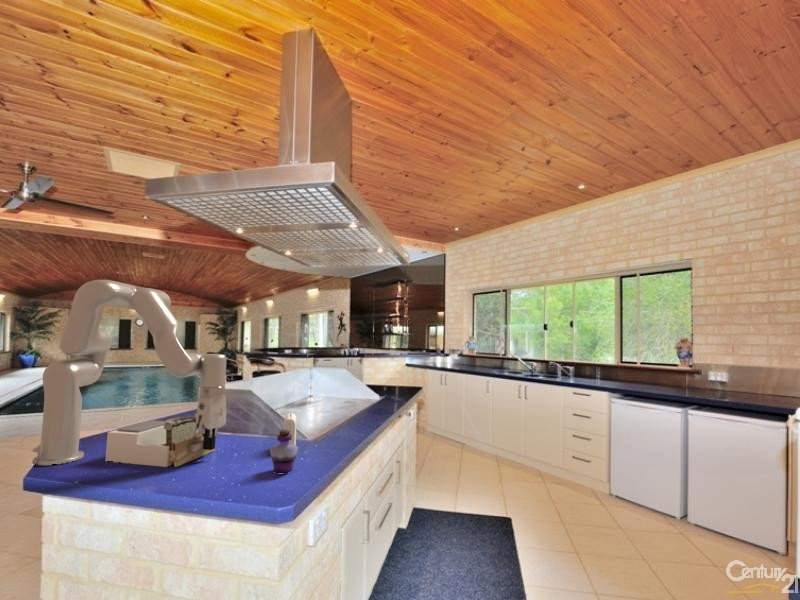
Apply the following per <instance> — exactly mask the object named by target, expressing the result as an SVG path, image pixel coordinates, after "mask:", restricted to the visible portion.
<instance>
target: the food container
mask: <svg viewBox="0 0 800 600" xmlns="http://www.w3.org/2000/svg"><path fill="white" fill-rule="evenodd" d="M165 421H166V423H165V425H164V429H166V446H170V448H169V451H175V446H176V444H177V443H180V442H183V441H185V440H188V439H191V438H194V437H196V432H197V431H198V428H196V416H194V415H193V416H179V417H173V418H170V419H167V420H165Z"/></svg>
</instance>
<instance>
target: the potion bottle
mask: <svg viewBox="0 0 800 600" xmlns="http://www.w3.org/2000/svg"><path fill="white" fill-rule="evenodd" d="M278 432H279V434H277V436H276V440H277V442H279V443H278V444H277V445H276V444H275V445H273V446H270V447H269V452H270V458H271V461H272V466H273V473H274V472H275V473H288V472H290V471H292V472H293V467H294V463H295V460H296V458H297V455H298V450H299V447H298V446H297V444H296V445H291V444H289V440H292V435H291V434H290V431H289V430H284V429H281V430H279V431H278Z"/></svg>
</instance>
